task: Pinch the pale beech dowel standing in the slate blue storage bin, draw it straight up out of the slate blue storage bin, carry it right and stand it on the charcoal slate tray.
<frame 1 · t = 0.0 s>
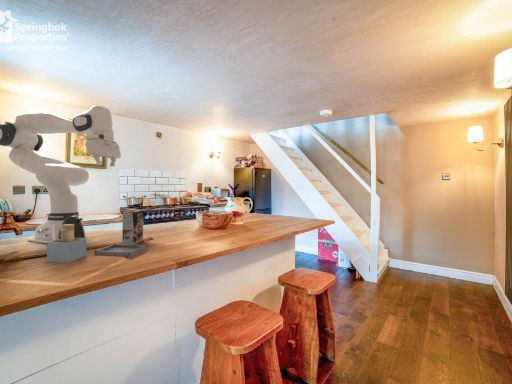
hand: (106, 165, 124), 39 cm above the table, tool pointing down, fingers open, 8 cm apart
coffee box: (133, 243, 124), on the table
tray: (121, 253, 105), on the table
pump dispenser: (72, 250, 108), on the table
dowel: (67, 258, 93), point 1 cm above the table, touching slate blue storage bin
slate blue storage bin: (67, 260, 93), on the table
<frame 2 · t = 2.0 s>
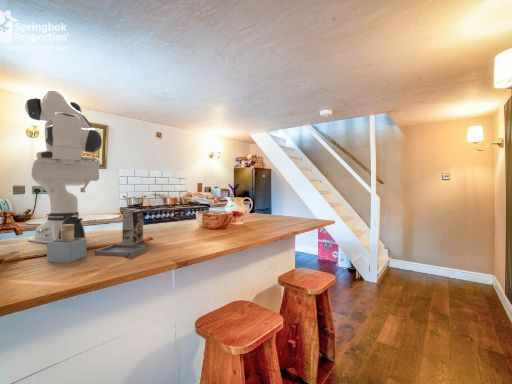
hand: (67, 192, 93), 26 cm above the table, tool pointing down, fingers open, 8 cm apart
nothing on the table moved.
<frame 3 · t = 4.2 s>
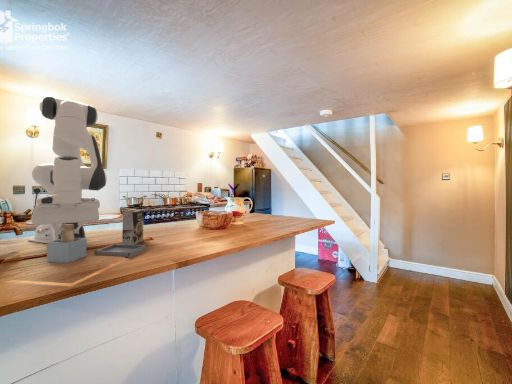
hand: (67, 234, 93), 10 cm above the table, tool pointing down, fingers closed on dowel, 4 cm apart
dowel: (67, 258, 93), point 1 cm above the table, touching slate blue storage bin, gripper
everything else where it was.
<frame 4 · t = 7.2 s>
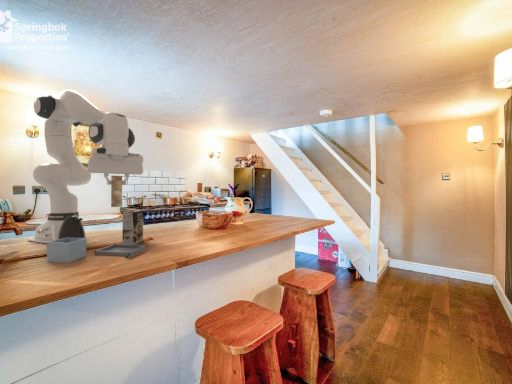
hand: (116, 184, 103), 30 cm above the table, tool pointing down, fingers closed on dowel, 4 cm apart
dowel: (116, 206, 103), point 20 cm above the table, touching gripper
everything else where it was.
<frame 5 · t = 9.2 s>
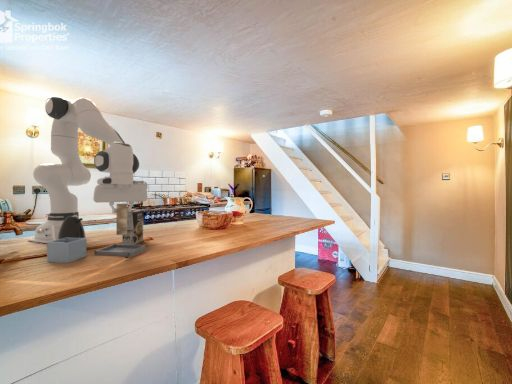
hand: (121, 212, 105), 18 cm above the table, tool pointing down, fingers closed on dowel, 4 cm apart
dowel: (121, 233, 105), point 8 cm above the table, touching gripper
everything else where it was.
when the fingers open (11 cm above the table, at t = 10.6 s): dowel stays where it is, resting on tray.
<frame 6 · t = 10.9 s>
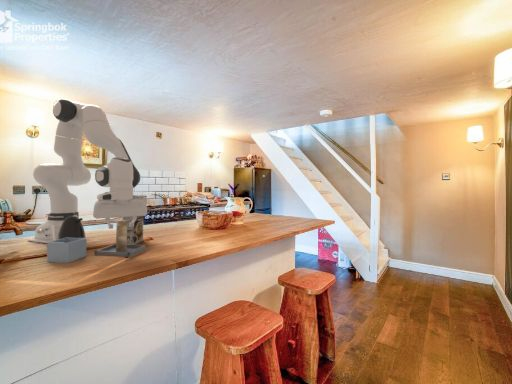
hand: (121, 227, 105), 11 cm above the table, tool pointing down, fingers open, 7 cm apart
dowel: (121, 250, 105), point 1 cm above the table, touching tray
everything else where it was.
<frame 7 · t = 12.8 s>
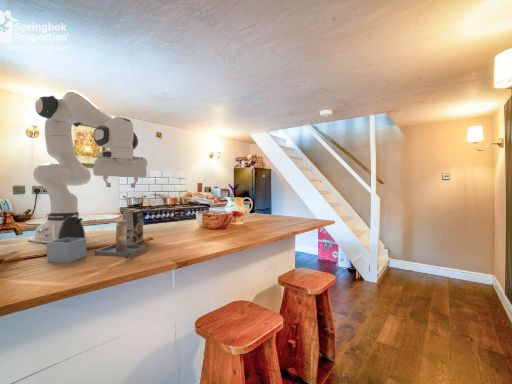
hand: (121, 187, 105), 28 cm above the table, tool pointing down, fingers open, 8 cm apart
nothing on the table moved.
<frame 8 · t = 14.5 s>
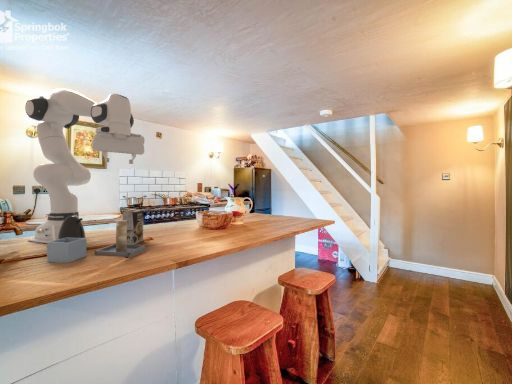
hand: (119, 163, 108), 39 cm above the table, tool pointing down, fingers open, 8 cm apart
nothing on the table moved.
at the end: dowel inside the target area on the tray (0.0 cm from its centre), point 1.0 cm above the tray's base; the gripper is holding nothing; dowel touching tray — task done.
